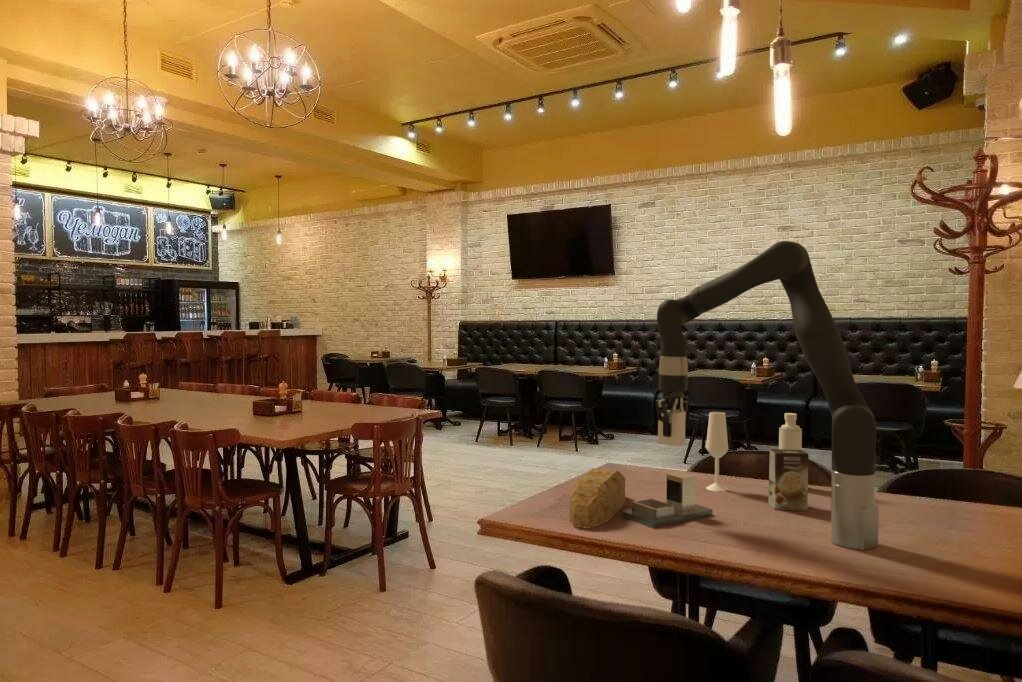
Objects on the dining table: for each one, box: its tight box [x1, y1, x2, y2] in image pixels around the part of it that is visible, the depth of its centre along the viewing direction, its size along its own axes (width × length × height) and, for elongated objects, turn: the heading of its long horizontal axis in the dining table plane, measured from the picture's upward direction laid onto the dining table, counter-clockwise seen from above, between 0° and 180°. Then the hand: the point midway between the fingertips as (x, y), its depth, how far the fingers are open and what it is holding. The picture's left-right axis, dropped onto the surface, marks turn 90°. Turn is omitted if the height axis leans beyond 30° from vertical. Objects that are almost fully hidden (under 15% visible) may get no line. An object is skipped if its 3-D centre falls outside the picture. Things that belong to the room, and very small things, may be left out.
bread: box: [569, 468, 626, 529], centre depth 191 cm, size 36×11×10 cm, turn 158°
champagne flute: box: [705, 411, 729, 492], centre depth 213 cm, size 7×7×24 cm
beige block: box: [657, 410, 687, 447], centre depth 184 cm, size 5×6×9 cm
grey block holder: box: [621, 471, 713, 529], centre depth 184 cm, size 12×22×10 cm, turn 121°
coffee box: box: [767, 448, 810, 511], centre depth 192 cm, size 9×6×16 cm
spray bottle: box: [778, 412, 803, 451], centre depth 215 cm, size 7×7×25 cm
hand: (672, 435), depth 184 cm, fingers closed on beige block, 4 cm apart
